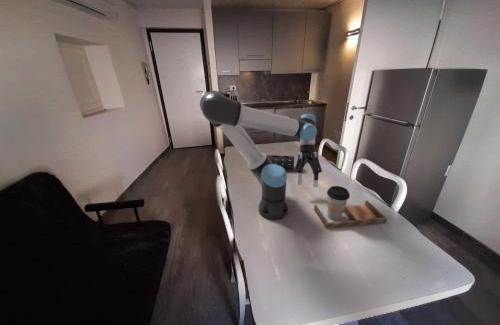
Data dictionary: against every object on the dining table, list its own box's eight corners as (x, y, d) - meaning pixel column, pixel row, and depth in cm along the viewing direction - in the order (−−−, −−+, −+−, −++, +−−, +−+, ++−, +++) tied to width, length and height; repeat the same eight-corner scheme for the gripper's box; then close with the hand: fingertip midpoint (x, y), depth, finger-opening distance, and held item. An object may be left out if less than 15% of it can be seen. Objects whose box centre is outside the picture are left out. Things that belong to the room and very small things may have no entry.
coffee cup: (327, 208, 101) (331, 183, 95) (347, 215, 95) (352, 189, 89) (320, 218, 94) (324, 191, 88) (341, 226, 89) (346, 199, 82)
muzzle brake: (293, 172, 138) (294, 158, 134) (254, 170, 144) (253, 157, 140) (293, 166, 147) (294, 153, 143) (256, 164, 152) (256, 152, 148)
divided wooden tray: (325, 228, 88) (326, 224, 87) (313, 209, 101) (314, 205, 100) (385, 223, 90) (387, 218, 89) (366, 204, 102) (367, 200, 101)
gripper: (330, 142, 92) (329, 188, 91) (300, 147, 115) (299, 184, 114) (316, 141, 89) (315, 188, 88) (289, 146, 113) (288, 184, 112)
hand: (306, 185), depth 101 cm, fingers open, 13 cm apart
